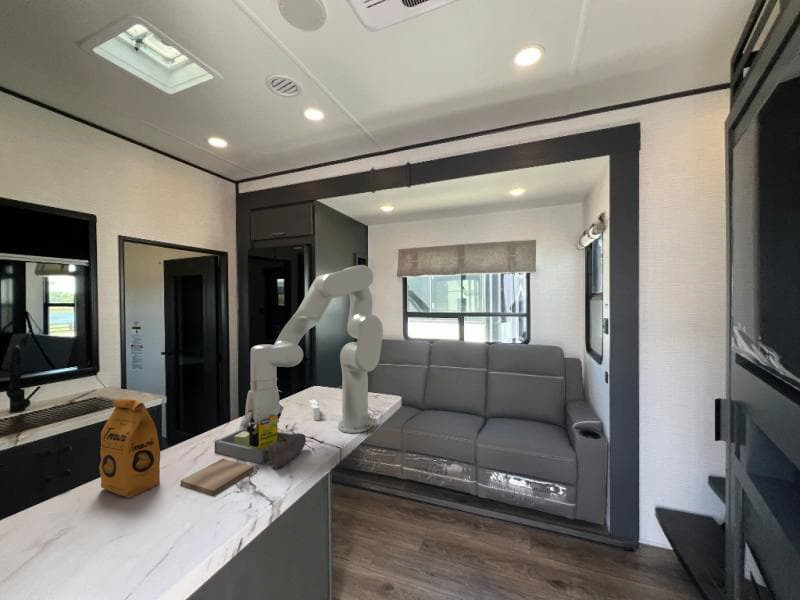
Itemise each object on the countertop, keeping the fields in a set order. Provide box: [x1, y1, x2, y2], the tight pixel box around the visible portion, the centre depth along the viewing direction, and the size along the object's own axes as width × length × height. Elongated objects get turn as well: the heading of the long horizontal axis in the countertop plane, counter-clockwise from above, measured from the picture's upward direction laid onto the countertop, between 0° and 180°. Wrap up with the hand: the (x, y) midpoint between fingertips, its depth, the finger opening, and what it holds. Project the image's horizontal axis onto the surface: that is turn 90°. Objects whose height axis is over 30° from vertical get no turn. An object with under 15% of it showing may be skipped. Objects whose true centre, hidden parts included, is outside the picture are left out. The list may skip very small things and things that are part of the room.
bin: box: [214, 427, 294, 465], centre depth 99 cm, size 20×13×4 cm, turn 68°
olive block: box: [234, 431, 250, 447], centre depth 101 cm, size 4×4×4 cm
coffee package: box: [98, 397, 161, 499], centre depth 79 cm, size 10×12×22 cm
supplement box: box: [250, 414, 278, 450], centre depth 98 cm, size 6×6×11 cm
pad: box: [180, 458, 255, 497], centre depth 83 cm, size 12×12×1 cm
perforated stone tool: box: [269, 433, 307, 469], centre depth 92 cm, size 15×5×7 cm, turn 157°
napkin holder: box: [308, 398, 320, 421], centre depth 128 cm, size 15×11×6 cm
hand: (263, 439), depth 98 cm, fingers closed on supplement box, 7 cm apart
